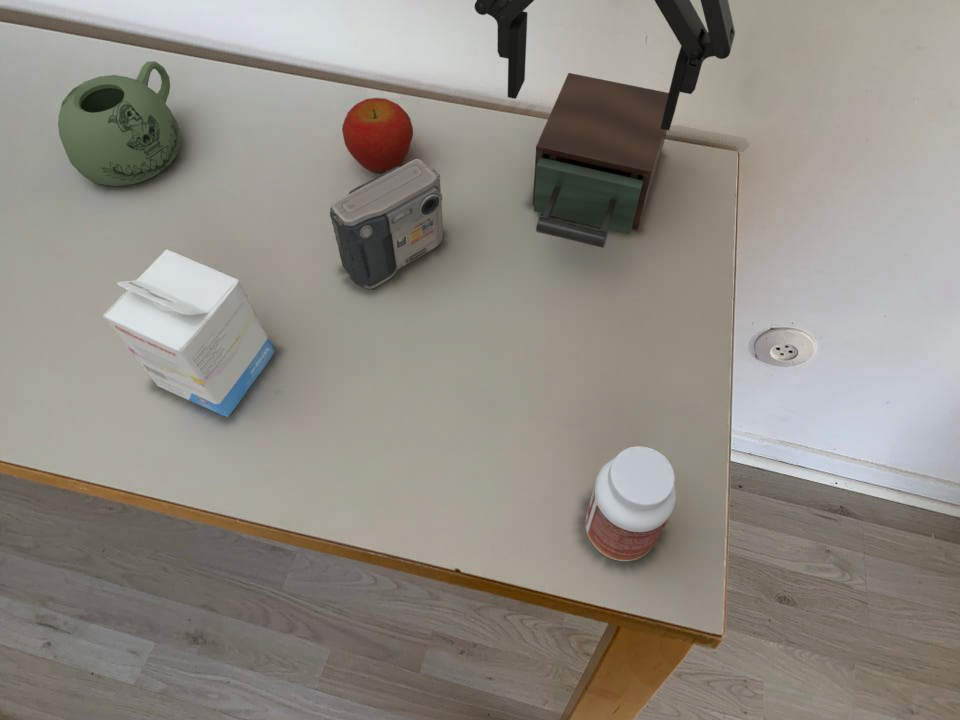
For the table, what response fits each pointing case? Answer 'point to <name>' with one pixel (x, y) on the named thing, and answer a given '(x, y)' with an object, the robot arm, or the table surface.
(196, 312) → the ink box
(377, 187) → the camera
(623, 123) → the cabinet
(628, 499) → the pill bottle
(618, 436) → the table surface
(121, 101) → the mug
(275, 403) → the table surface
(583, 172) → the drawer
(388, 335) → the table surface
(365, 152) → the apple
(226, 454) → the table surface
